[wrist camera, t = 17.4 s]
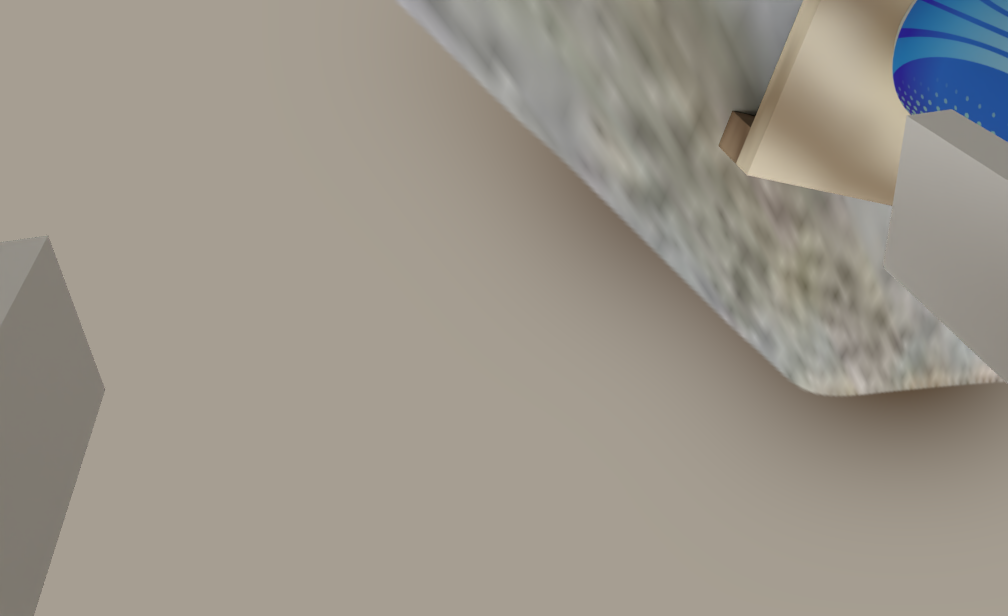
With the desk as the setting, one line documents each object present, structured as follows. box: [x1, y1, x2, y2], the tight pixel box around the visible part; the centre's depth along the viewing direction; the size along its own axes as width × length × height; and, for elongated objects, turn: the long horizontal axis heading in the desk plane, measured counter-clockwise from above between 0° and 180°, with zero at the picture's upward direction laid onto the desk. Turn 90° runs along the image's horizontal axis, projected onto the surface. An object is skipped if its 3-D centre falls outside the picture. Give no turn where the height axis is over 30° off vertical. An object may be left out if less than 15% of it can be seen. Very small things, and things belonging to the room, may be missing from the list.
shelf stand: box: [719, 0, 914, 206], centre depth 47 cm, size 18×14×4 cm
